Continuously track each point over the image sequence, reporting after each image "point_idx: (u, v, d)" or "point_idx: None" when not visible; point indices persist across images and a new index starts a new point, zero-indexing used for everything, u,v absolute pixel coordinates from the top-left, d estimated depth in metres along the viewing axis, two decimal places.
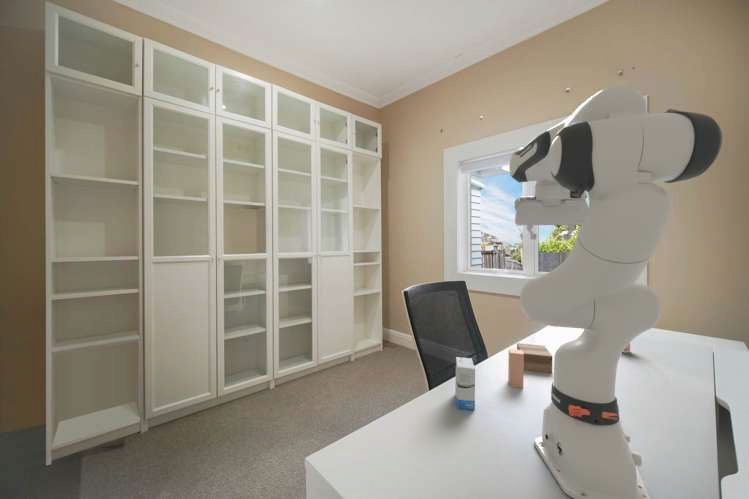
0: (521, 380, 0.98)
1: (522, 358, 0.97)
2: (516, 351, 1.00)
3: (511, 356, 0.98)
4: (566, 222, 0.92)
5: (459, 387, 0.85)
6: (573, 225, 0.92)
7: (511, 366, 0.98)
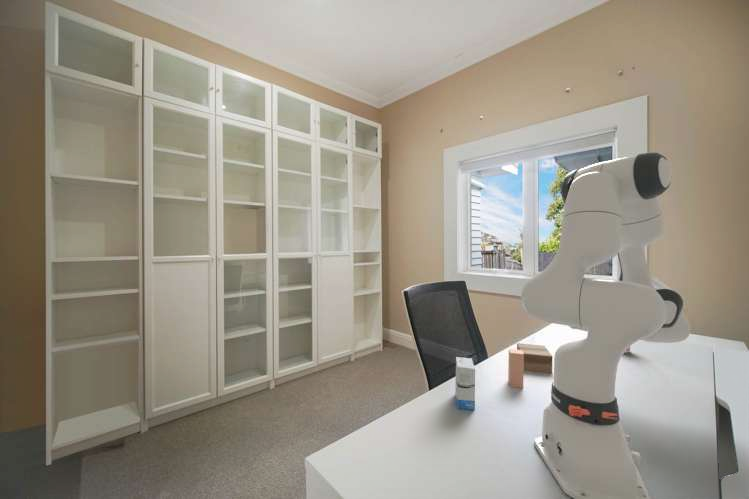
0: (521, 380, 0.98)
1: (522, 358, 0.97)
2: (516, 351, 1.00)
3: (511, 356, 0.98)
4: None
5: (459, 387, 0.85)
6: None
7: (511, 366, 0.98)
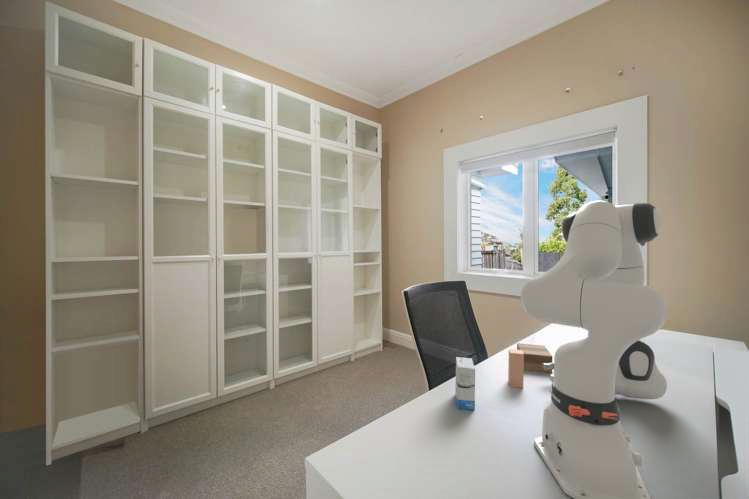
0: (521, 380, 0.98)
1: (522, 358, 0.97)
2: (516, 351, 1.00)
3: (511, 356, 0.98)
4: None
5: (459, 387, 0.85)
6: None
7: (511, 366, 0.99)
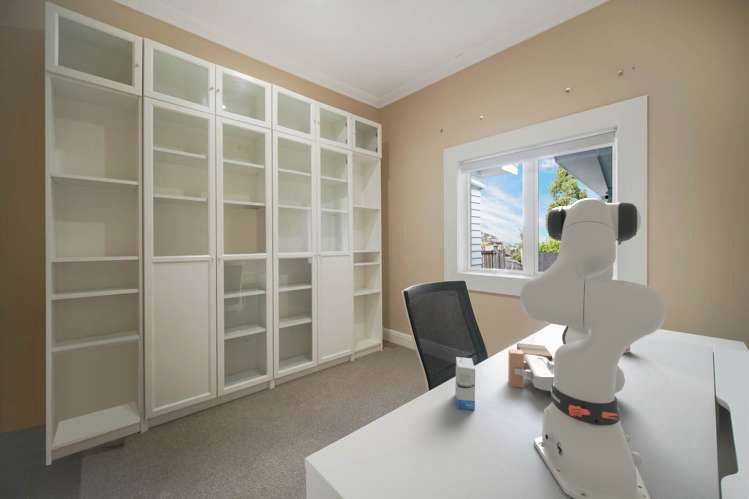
0: (521, 380, 0.98)
1: (522, 358, 0.97)
2: (516, 351, 1.00)
3: (511, 356, 0.98)
4: (532, 368, 0.95)
5: (459, 387, 0.85)
6: (529, 371, 0.95)
7: (511, 366, 0.98)
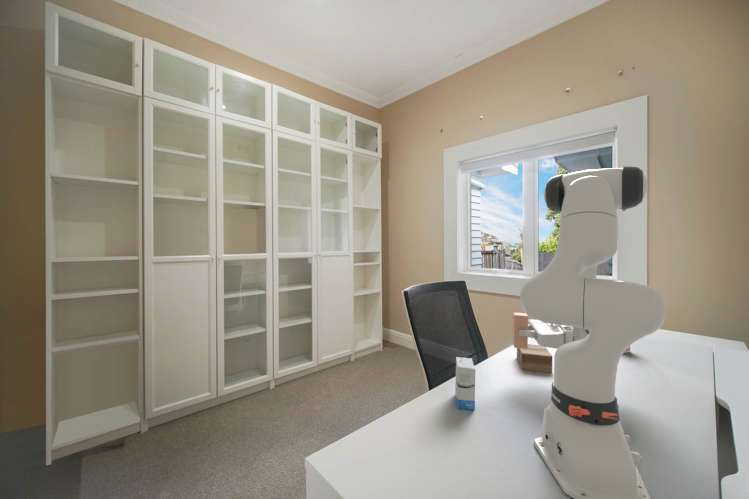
0: (525, 341, 1.01)
1: (526, 319, 1.00)
2: (521, 314, 1.03)
3: (515, 318, 1.01)
4: (536, 329, 0.98)
5: (459, 387, 0.85)
6: (533, 331, 0.98)
7: (515, 328, 1.01)
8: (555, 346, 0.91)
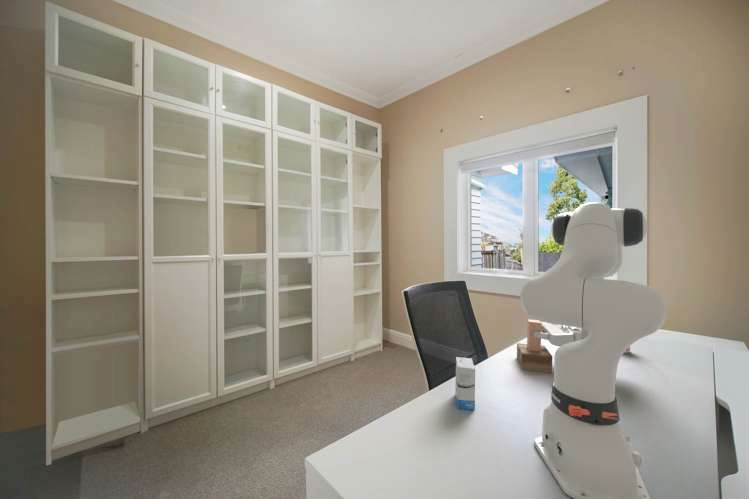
0: (539, 345, 1.14)
1: (540, 326, 1.14)
2: (534, 320, 1.16)
3: (530, 324, 1.15)
4: (549, 330, 1.11)
5: (459, 387, 0.85)
6: (547, 333, 1.10)
7: (530, 333, 1.15)
8: None
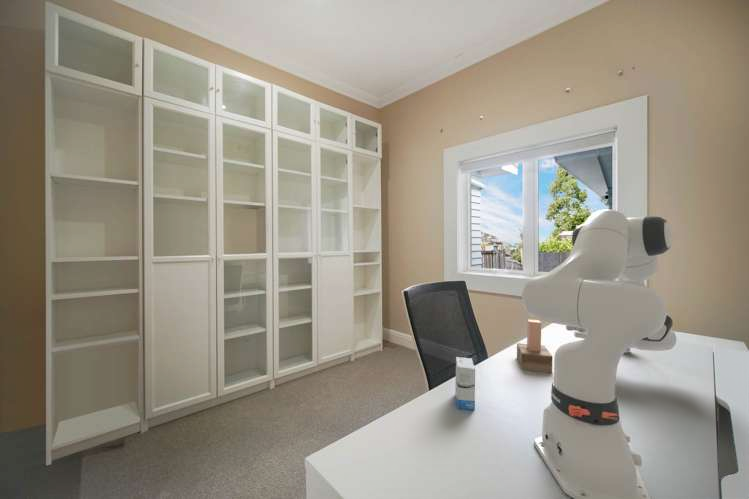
0: (539, 345, 1.14)
1: (540, 326, 1.14)
2: (534, 320, 1.16)
3: (530, 324, 1.15)
4: None
5: (459, 387, 0.85)
6: None
7: (530, 333, 1.15)
8: None
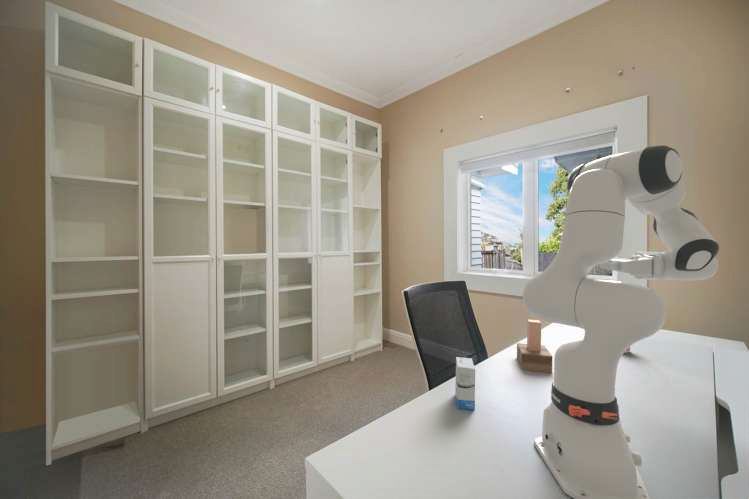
0: (539, 345, 1.14)
1: (540, 326, 1.14)
2: (534, 320, 1.16)
3: (530, 324, 1.15)
4: (618, 259, 0.94)
5: (459, 387, 0.85)
6: (618, 262, 0.93)
7: (530, 333, 1.15)
8: (643, 272, 0.88)
